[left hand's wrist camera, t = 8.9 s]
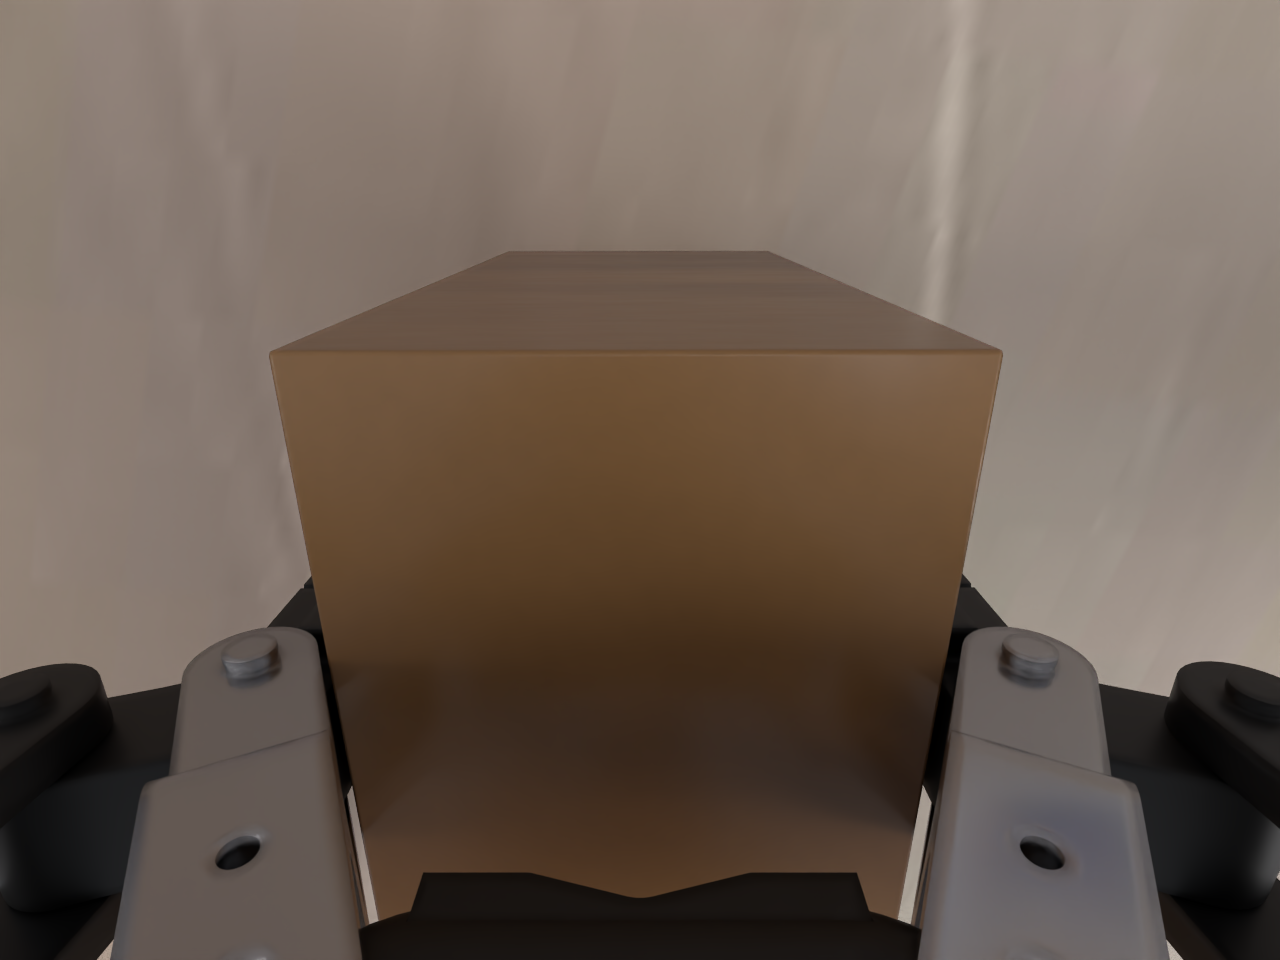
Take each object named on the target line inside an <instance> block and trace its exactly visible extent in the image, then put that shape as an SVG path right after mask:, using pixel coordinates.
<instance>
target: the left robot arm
mask: <svg viewBox="0 0 1280 960" xmlns="http://www.w3.org/2000/svg"><path fill="white" fill-rule="evenodd" d="M351 786H352V781H351V776H350V771H349V766H348V760H347V755H346V750H345V745H344V740H343V735H342V730H341V724H340V719H339V714H338V709H337V704H336V699H335V693H334V688H333V683H332V678H331V673H330V668H329V663H328V657H327V652H326V647H325V642H324V637H323V632H322V626H321V621H320V616H319V611H318V606H317V601H316V596H315V590H314V585H313V580H312V576H311V577H310V578H309V580H308V581H307V582H306V583H305V584H304V589H300V590H299V591H298V592H297V593H296V595H295V596H294V597H293V598H292V599H291V600H290V602H289V603H288V604H287V605H286V606H285V607H284V609H283V610H282V611H281V612H280V613H279V614H278V615H277V617H276V618H275V619H274V620H273V621H272V622H271V624H270V625H269V626H268V627H267V628H261V629H255V630H251V631H247V632H243V633H240V634H237V635H234V636H231V637H229V638H226V639H224V640H222V641H219V642H218V643H216V644H214V645H212V646H210V647H209V648H207V649H206V650H204V651H203V652H201V653H200V654H199V655H197V656H196V657H195V658H194V659H193V660H192V661H191V662H190V663H189V664H188V666H187V667H186V669H185V671H184V673H183V677H182V683H181V684H177V685H173V686H168V687H164V688H158V689H153V690H148V691H142V692H137V693H132V694H127V695H121V696H116V697H111V698H107V695H106V692H105V689H104V686H103V683H102V680H101V677H100V675H99V673H98V672H97V671H96V670H95V669H93V668H92V667H89V666H86V665H82V664H68V663H65V664H53V665H47V666H41V667H37V668H32V669H28V670H25V671H21V672H18V673H14V674H12V675H9V676H6V677H3V678H1V679H0V960H97V959H98V957H99V956H100V955H101V954H102V953H103V951H104V950H105V949H106V948H107V947H108V945H109V944H110V943H111V942H112V941H113V939H114V941H113V947H112V952H111V958H110V960H1170V958H1169V952H1168V947H1167V941H1168V942H1169V943H1170V944H1171V945H1172V947H1173V948H1174V949H1175V950H1176V951H1177V953H1178V954H1179V955H1180V956H1181V957H1182V959H1183V960H1280V881H1279V880H1278V879H1277V876H1278V873H1279V871H1280V678H1279V677H1276V676H1274V675H1271V674H1268V673H1265V672H1263V671H1259V670H1256V669H1253V668H1249V667H1245V666H1241V665H1236V664H1230V663H1224V662H1212V661H1208V662H1195V663H1191V664H1188V665H1185V666H1184V667H1182V668H1181V669H1180V670H1179V671H1178V673H1177V676H1176V679H1175V682H1174V685H1173V688H1172V691H1171V694H1170V697H1166V696H1161V695H1155V694H1150V693H1145V692H1139V691H1134V690H1129V689H1124V688H1118V687H1113V686H1108V685H1103V684H1099V683H1098V677H1097V673H1096V671H1095V669H1094V667H1093V666H1092V664H1091V663H1090V662H1089V661H1088V660H1087V659H1086V658H1085V657H1084V656H1083V655H1081V654H1080V653H1079V652H1077V651H1076V650H1074V649H1073V648H1071V647H1070V646H1068V645H1066V644H1064V643H1062V642H1061V641H1058V640H1056V639H1054V638H1051V637H1049V636H1046V635H1043V634H1040V633H1037V632H1033V631H1029V630H1025V629H1019V628H1012V627H1008V626H1007V625H1006V624H1005V623H1004V622H1003V621H1002V619H1001V618H1000V617H999V616H998V615H997V614H996V612H995V611H994V610H993V609H992V608H991V607H990V605H989V604H988V603H987V602H986V601H985V599H984V598H983V597H982V596H981V595H980V594H979V592H978V591H977V590H976V589H975V588H971V583H970V582H969V581H968V580H967V578H966V577H965V576H964V575H963V574H962V577H961V582H960V588H959V593H958V599H957V604H956V609H955V615H954V620H953V625H952V631H951V636H950V641H949V647H948V652H947V658H946V663H945V668H944V674H943V679H942V684H941V690H940V695H939V700H938V706H937V711H936V717H935V722H934V727H933V733H932V738H931V743H930V749H929V754H928V759H927V765H926V770H925V776H924V781H923V786H924V788H925V790H926V792H927V794H928V796H929V798H930V800H931V807H930V813H929V818H928V823H927V829H926V835H925V841H924V847H923V853H922V860H921V866H920V872H919V878H918V884H917V890H916V896H915V902H914V908H913V914H912V920H911V924H908V923H905V922H902V921H900V920H897V919H894V918H891V917H888V916H885V915H882V914H879V913H875V912H871V911H869V909H868V906H867V902H866V899H865V896H864V893H863V890H862V887H861V884H860V881H859V878H858V874H857V872H750V873H746V874H742V875H738V876H734V877H730V878H726V879H721V880H717V881H713V882H709V883H705V884H701V885H697V886H693V887H689V888H685V889H681V890H677V891H672V892H668V893H664V894H660V895H656V896H652V897H646V898H634V897H628V896H624V895H620V894H616V893H612V892H608V891H603V890H599V889H595V888H591V887H587V886H583V885H579V884H575V883H571V882H567V881H563V880H559V879H554V878H550V877H546V876H542V875H538V874H534V873H530V872H423V874H422V878H421V881H420V884H419V887H418V890H417V893H416V896H415V899H414V902H413V906H412V909H411V911H409V912H405V913H401V914H398V915H395V916H392V917H389V918H386V919H383V920H380V921H378V922H375V923H372V924H369V920H368V914H367V908H366V902H365V896H364V890H363V884H362V878H361V872H360V866H359V860H358V853H357V847H356V841H355V835H354V829H353V823H352V818H351V813H350V807H349V802H348V797H347V794H348V792H349V790H350V788H351ZM1166 939H1167V941H1166Z"/></svg>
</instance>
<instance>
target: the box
mask: <svg viewBox="0 0 1280 960" xmlns="http://www.w3.org/2000/svg"><path fill="white" fill-rule="evenodd" d="M1002 357H1003V353H1002V350H999V349H997V348H995V347H993V346H990V345H988V344H985V343H983V342H981V341H978V340H976V339H974V338H971V337H969V336H967V335H964V334H962V333H960V332H957V331H955V330H952V329H950V328H948V327H945V326H943V325H941V324H938V323H936V322H934V321H931V320H929V319H927V318H924V317H922V316H920V315H917V314H915V313H912V312H910V311H908V310H905V309H903V308H901V307H898V306H896V305H894V304H891V303H889V302H887V301H884V300H882V299H879V298H877V297H875V296H872V295H870V294H868V293H865V292H863V291H861V290H858V289H856V288H854V287H851V286H849V285H847V284H844V283H842V282H839V281H837V280H835V279H832V278H830V277H828V276H825V275H823V274H821V273H818V272H816V271H814V270H811V269H809V268H806V267H804V266H802V265H799V264H797V263H795V262H792V261H790V260H788V259H785V258H783V257H781V256H778V255H776V254H773V253H771V252H769V251H509V252H506V253H504V254H502V255H499V256H497V257H495V258H492V259H490V260H487V261H485V262H483V263H480V264H478V265H475V266H473V267H471V268H468V269H466V270H464V271H461V272H459V273H456V274H454V275H452V276H449V277H447V278H444V279H442V280H440V281H437V282H435V283H433V284H430V285H428V286H425V287H423V288H421V289H418V290H416V291H414V292H411V293H409V294H406V295H404V296H402V297H399V298H397V299H394V300H392V301H390V302H387V303H385V304H383V305H380V306H378V307H375V308H373V309H371V310H368V311H366V312H363V313H361V314H359V315H356V316H354V317H352V318H349V319H347V320H344V321H342V322H340V323H337V324H335V325H333V326H330V327H328V328H325V329H323V330H321V331H318V332H316V333H313V334H311V335H309V336H306V337H304V338H302V339H299V340H297V341H294V342H292V343H290V344H287V345H285V346H283V347H280V348H278V349H275V350H273V351H271V352H270V355H269V358H270V364H271V369H272V374H273V379H274V384H275V389H276V394H277V400H278V405H279V410H280V415H281V420H282V425H283V431H284V436H285V441H286V446H287V451H288V456H289V461H290V467H291V472H292V477H293V482H294V487H295V492H296V498H297V503H298V508H299V513H300V518H301V523H302V528H303V534H304V539H305V544H306V549H307V554H308V559H309V565H310V570H311V575H312V580H313V585H314V590H315V596H316V601H317V606H318V611H319V616H320V621H321V626H322V632H323V637H324V642H325V647H326V652H327V657H328V663H329V668H330V673H331V678H332V683H333V688H334V693H335V699H336V704H337V709H338V714H339V719H340V724H341V730H342V735H343V740H344V745H345V750H346V755H347V760H348V766H349V771H350V776H351V781H352V786H353V791H354V797H355V802H356V807H357V812H358V817H359V822H360V827H361V833H362V838H363V843H364V848H365V853H366V858H367V864H368V869H369V874H370V879H371V884H372V889H373V894H374V900H375V905H376V910H377V915H378V920H379V921H380V920H383V919H386V918H389V917H392V916H395V915H398V914H401V913H405V912H409V911H411V909H412V906H413V902H414V899H415V896H416V893H417V890H418V887H419V884H420V881H421V878H422V874H423V872H530V873H534V874H538V875H542V876H546V877H550V878H554V879H559V880H563V881H567V882H571V883H575V884H579V885H583V886H587V887H591V888H595V889H599V890H603V891H608V892H612V893H616V894H620V895H624V896H628V897H634V898H646V897H652V896H656V895H660V894H664V893H668V892H672V891H677V890H681V889H685V888H689V887H693V886H697V885H701V884H705V883H709V882H713V881H717V880H721V879H726V878H730V877H734V876H738V875H742V874H746V873H750V872H857V874H858V878H859V881H860V884H861V887H862V890H863V893H864V896H865V899H866V902H867V906H868V909H869V911H871V912H875V913H879V914H882V915H885V916H888V917H891V918H894V919H897V920H898V915H899V910H900V904H901V899H902V893H903V888H904V883H905V877H906V872H907V867H908V861H909V856H910V851H911V845H912V840H913V834H914V829H915V824H916V818H917V813H918V808H919V802H920V797H921V792H922V786H923V781H924V776H925V770H926V765H927V759H928V754H929V749H930V743H931V738H932V733H933V727H934V722H935V717H936V711H937V706H938V700H939V695H940V690H941V684H942V679H943V674H944V668H945V663H946V658H947V652H948V647H949V641H950V636H951V631H952V625H953V620H954V615H955V609H956V604H957V599H958V593H959V588H960V582H961V577H962V572H963V566H964V561H965V556H966V550H967V545H968V540H969V534H970V529H971V524H972V518H973V513H974V507H975V502H976V497H977V491H978V486H979V481H980V475H981V470H982V465H983V459H984V454H985V448H986V443H987V438H988V432H989V427H990V422H991V416H992V411H993V406H994V400H995V395H996V389H997V384H998V379H999V373H1000V368H1001V363H1002Z"/></svg>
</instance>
